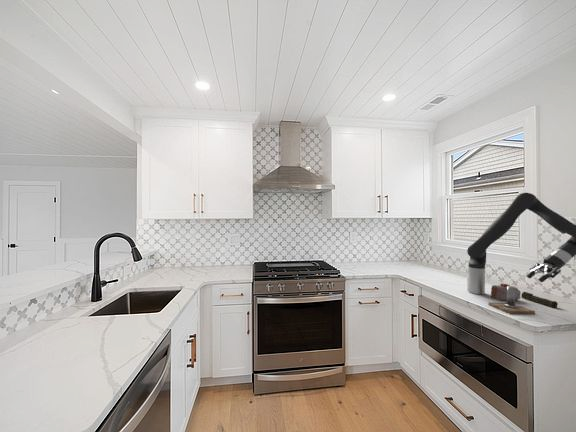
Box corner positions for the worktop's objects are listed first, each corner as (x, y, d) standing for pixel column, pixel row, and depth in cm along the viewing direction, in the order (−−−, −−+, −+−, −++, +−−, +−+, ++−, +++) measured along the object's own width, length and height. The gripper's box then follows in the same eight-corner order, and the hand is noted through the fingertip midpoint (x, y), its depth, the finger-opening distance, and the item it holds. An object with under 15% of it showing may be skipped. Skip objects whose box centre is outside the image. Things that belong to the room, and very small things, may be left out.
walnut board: (488, 305, 152) (488, 302, 152) (511, 305, 152) (511, 302, 152) (509, 314, 138) (509, 311, 138) (534, 314, 138) (534, 311, 138)
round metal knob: (501, 304, 148) (501, 285, 148) (511, 304, 148) (511, 285, 148) (510, 308, 142) (510, 288, 142) (520, 308, 142) (520, 288, 142)
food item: (511, 297, 166) (511, 282, 166) (521, 301, 158) (522, 285, 158) (489, 297, 167) (489, 282, 167) (498, 301, 159) (498, 285, 159)
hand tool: (558, 308, 148) (558, 300, 148) (552, 308, 147) (552, 300, 147) (525, 298, 166) (525, 290, 166) (519, 298, 166) (519, 290, 166)
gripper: (541, 252, 149) (519, 271, 150) (563, 256, 135) (538, 277, 136) (551, 262, 148) (529, 280, 150) (575, 266, 134) (550, 287, 136)
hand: (533, 279), depth 143 cm, fingers open, 8 cm apart
